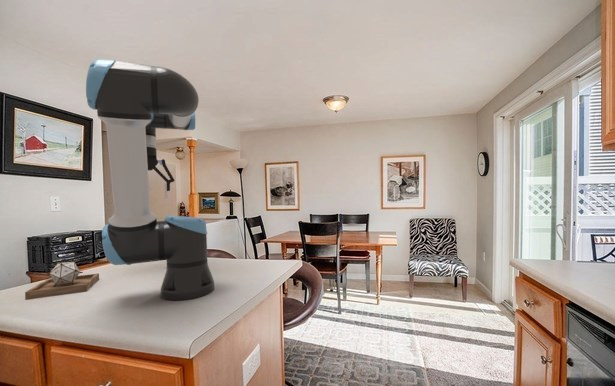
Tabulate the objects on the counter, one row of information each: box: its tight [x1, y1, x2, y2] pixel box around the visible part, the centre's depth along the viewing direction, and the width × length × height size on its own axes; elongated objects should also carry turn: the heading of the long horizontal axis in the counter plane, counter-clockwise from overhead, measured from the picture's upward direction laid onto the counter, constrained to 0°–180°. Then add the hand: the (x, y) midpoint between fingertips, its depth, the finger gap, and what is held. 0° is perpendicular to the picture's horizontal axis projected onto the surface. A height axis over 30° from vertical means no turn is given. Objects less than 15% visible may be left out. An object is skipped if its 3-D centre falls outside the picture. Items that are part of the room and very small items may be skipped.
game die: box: [45, 259, 83, 287], centre depth 96 cm, size 9×8×10 cm
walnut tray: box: [24, 273, 100, 300], centre depth 96 cm, size 15×15×2 cm
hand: (147, 199), depth 116 cm, fingers open, 13 cm apart
